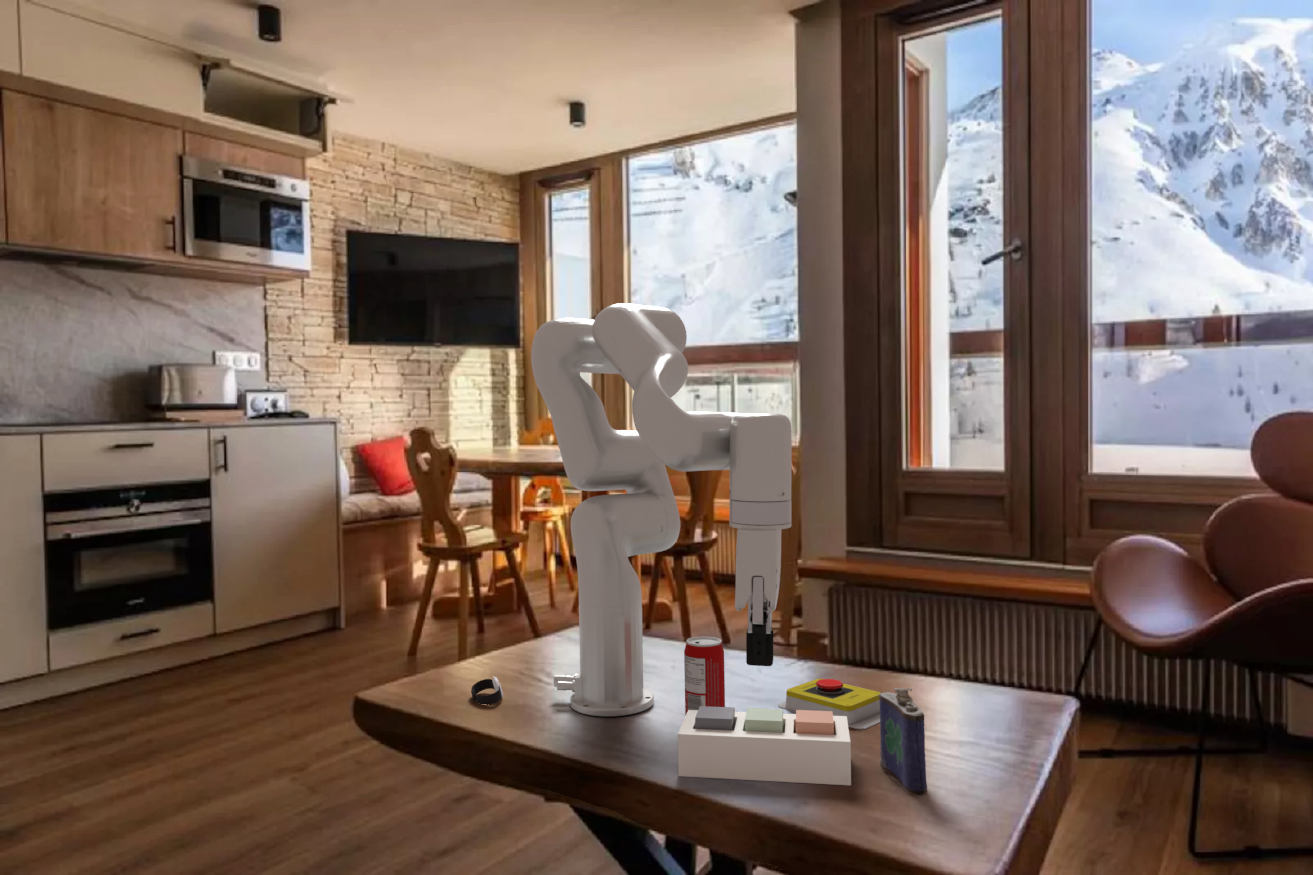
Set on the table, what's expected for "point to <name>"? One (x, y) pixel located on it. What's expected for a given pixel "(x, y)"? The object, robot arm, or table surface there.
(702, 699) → the soda can
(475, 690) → the watch
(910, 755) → the flask
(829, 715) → the terracotta key
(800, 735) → the key block
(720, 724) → the charcoal key
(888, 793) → the table surface
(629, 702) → the robot arm
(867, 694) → the emergency button
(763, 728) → the sage key
